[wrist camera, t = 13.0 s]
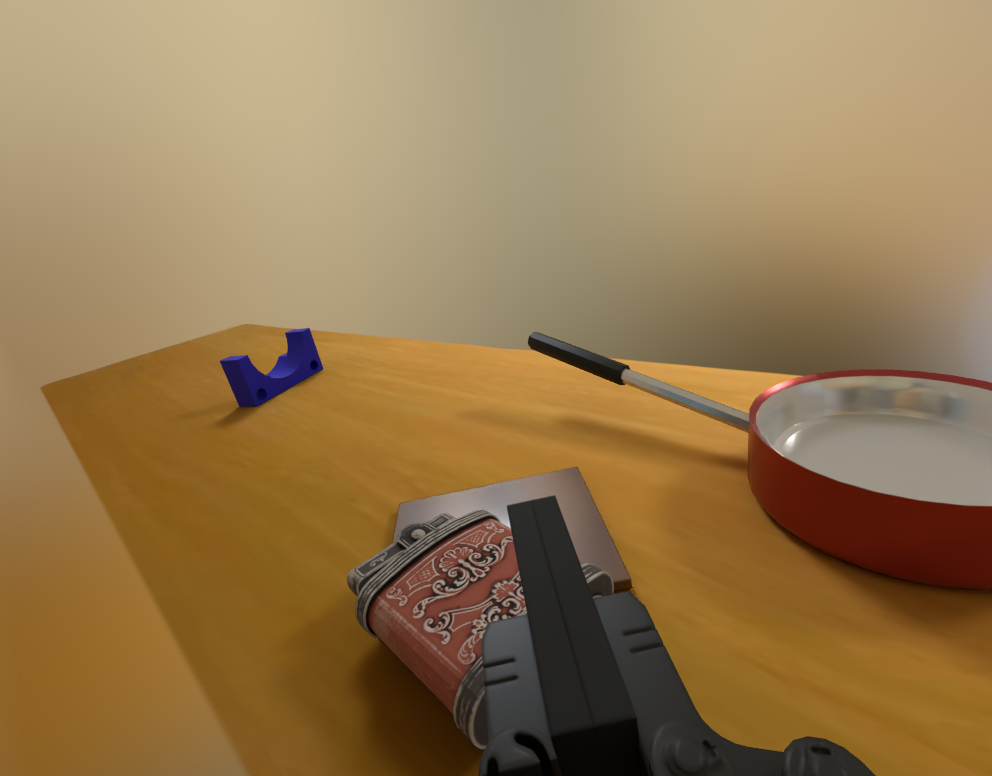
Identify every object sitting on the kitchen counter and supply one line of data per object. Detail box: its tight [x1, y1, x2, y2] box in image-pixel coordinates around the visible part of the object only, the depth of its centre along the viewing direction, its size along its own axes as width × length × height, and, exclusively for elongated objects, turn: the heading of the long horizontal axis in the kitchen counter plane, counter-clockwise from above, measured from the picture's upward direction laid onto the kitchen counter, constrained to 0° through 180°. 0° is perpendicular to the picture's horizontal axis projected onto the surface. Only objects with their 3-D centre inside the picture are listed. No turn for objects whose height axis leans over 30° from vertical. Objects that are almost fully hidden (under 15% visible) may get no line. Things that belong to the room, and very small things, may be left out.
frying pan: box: [528, 332, 992, 589], centre depth 29 cm, size 32×13×6 cm, turn 45°
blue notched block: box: [220, 328, 323, 406], centre depth 61 cm, size 12×4×6 cm, turn 158°
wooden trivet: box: [379, 467, 632, 641], centre depth 26 cm, size 12×10×1 cm
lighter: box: [347, 509, 614, 749], centre depth 21 cm, size 8×3×10 cm
